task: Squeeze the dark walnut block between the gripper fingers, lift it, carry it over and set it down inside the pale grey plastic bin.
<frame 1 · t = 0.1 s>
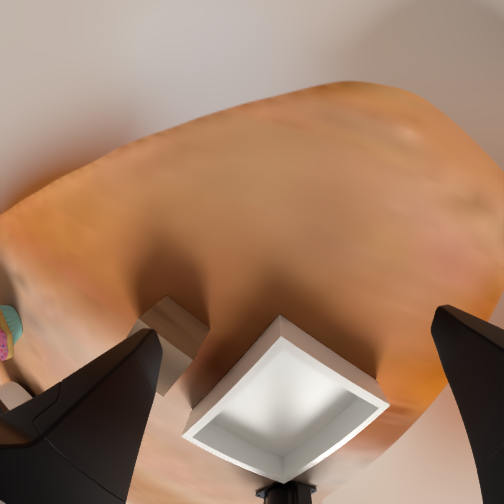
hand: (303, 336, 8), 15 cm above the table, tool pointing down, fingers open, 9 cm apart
walnut block: (175, 330, 25), on the table
cupcake: (15, 321, 27), on the table
spread jar: (38, 404, 29), on the table
bin: (282, 401, 25), on the table
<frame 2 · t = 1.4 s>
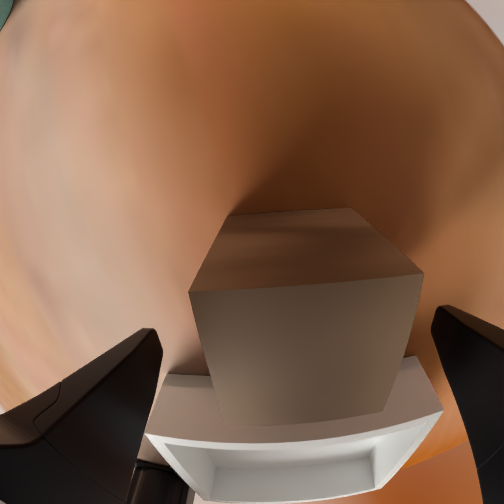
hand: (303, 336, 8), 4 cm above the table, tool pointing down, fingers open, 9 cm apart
walnut block: (293, 267, 12), on the table
bin: (293, 429, 16), on the table
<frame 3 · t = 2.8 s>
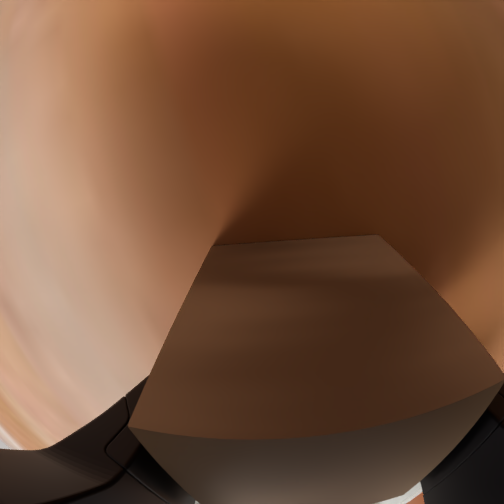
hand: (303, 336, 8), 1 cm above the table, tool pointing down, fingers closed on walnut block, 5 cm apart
walnut block: (299, 311, 9), on the table, touching gripper
bin: (294, 466, 14), on the table
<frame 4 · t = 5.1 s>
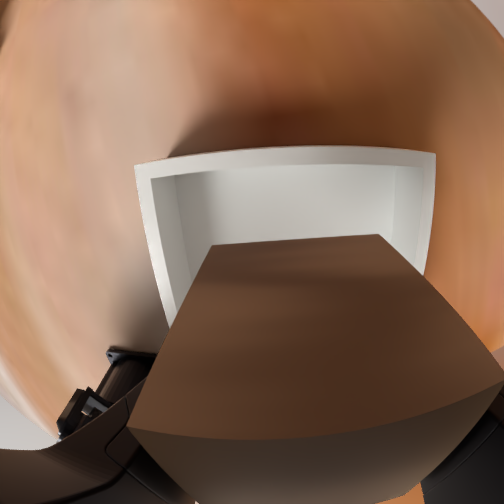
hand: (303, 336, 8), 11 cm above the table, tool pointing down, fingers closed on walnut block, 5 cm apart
walnut block: (299, 311, 9), point 9 cm above the table, touching gripper
bin: (290, 246, 18), on the table
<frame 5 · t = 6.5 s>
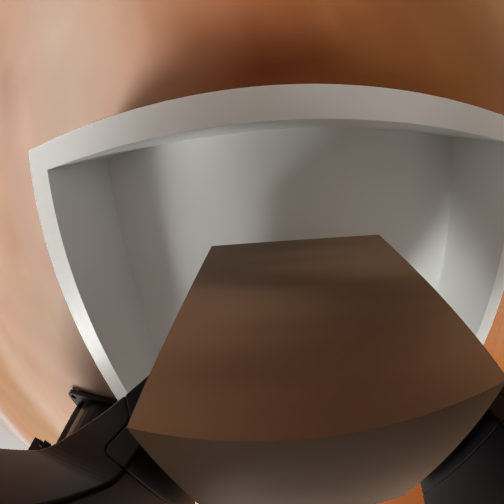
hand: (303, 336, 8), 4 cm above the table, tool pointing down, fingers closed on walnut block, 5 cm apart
walnut block: (299, 312, 9), point 3 cm above the table, touching gripper
bin: (294, 271, 11), on the table
when the fingers open (4 cm above the table, at t = 7.4 s): walnut block drops 1 cm, resting on bin.
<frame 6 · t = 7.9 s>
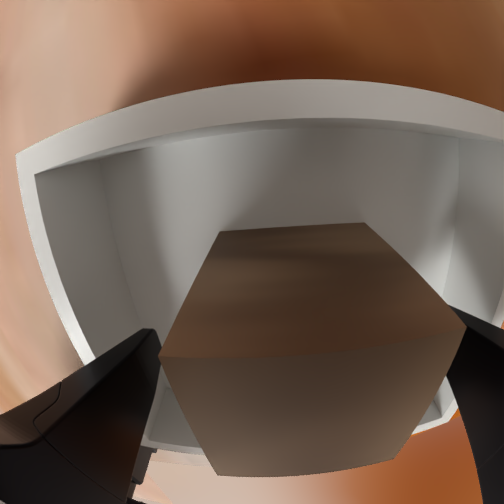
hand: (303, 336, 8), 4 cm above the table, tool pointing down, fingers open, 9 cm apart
walnut block: (295, 291, 10), point 1 cm above the table, touching bin
bin: (294, 278, 11), on the table
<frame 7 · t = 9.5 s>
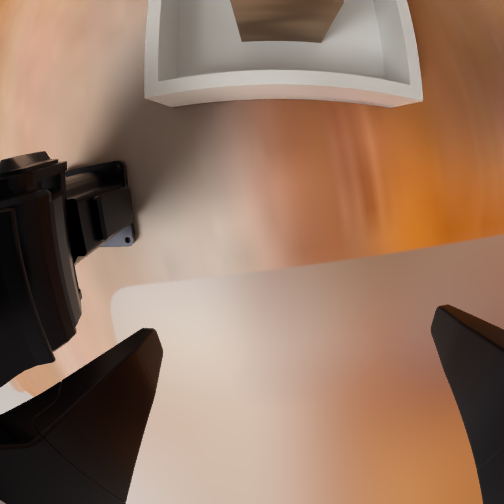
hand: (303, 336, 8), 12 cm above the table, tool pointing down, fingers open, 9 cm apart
walnut block: (279, 11, 12), point 1 cm above the table, touching bin
bin: (279, 17, 13), on the table
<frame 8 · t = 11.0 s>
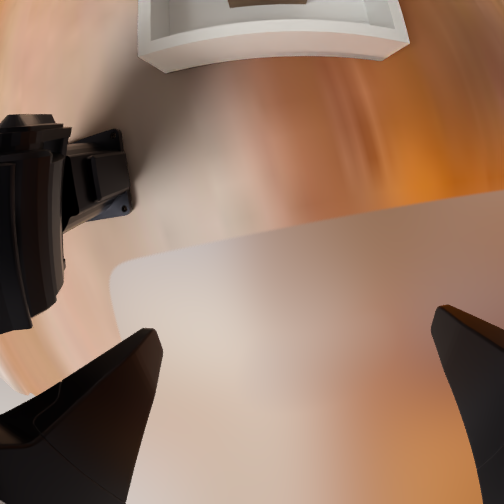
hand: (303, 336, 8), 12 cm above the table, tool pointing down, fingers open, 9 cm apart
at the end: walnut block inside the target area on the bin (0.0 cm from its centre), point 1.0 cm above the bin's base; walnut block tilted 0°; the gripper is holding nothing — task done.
